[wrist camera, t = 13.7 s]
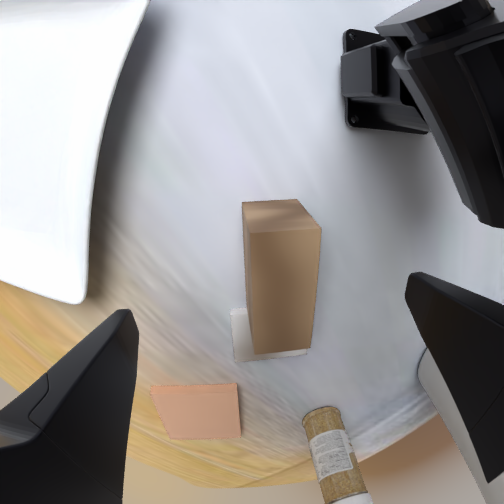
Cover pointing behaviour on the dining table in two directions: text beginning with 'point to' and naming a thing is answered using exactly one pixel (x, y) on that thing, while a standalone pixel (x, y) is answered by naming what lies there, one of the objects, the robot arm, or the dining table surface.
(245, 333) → the tall cardboard box
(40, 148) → the salad plate
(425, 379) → the cylinder vase
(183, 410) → the ceramic tile
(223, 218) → the dining table surface
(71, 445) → the robot arm
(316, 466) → the sprinkles bottle
